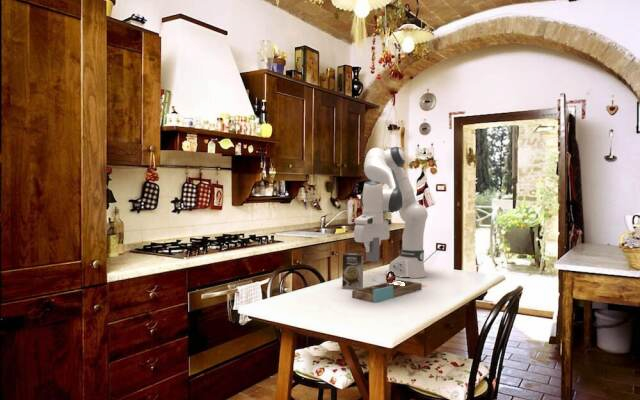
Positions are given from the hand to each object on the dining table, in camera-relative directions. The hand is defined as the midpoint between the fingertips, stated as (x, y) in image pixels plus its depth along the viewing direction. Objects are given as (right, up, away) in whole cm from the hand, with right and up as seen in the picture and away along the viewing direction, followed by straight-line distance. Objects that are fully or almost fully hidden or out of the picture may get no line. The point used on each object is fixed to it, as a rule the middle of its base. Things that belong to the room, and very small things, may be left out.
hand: (372, 251), depth 196 cm
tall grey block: (0, -4, 0) cm, 4 cm away
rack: (+8, -20, +8) cm, 23 cm away
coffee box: (-7, -20, +20) cm, 29 cm away
